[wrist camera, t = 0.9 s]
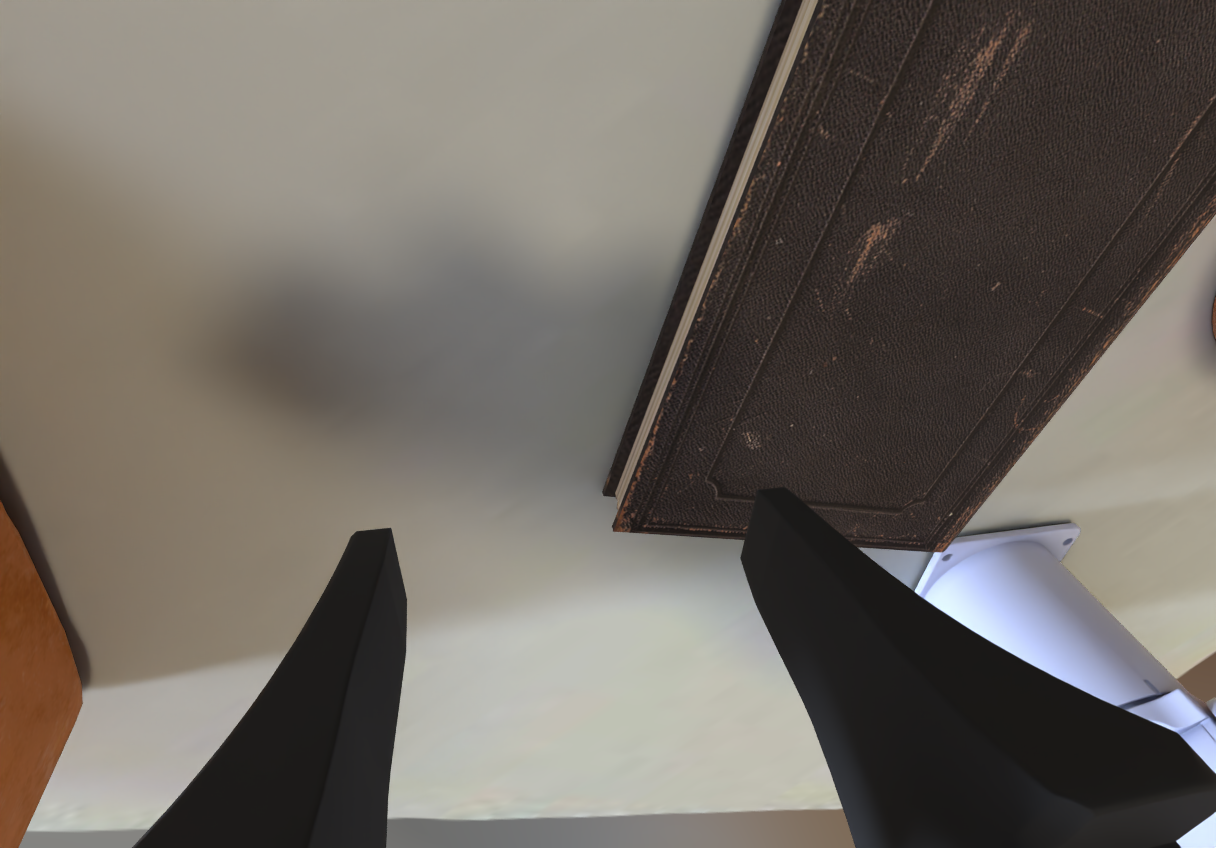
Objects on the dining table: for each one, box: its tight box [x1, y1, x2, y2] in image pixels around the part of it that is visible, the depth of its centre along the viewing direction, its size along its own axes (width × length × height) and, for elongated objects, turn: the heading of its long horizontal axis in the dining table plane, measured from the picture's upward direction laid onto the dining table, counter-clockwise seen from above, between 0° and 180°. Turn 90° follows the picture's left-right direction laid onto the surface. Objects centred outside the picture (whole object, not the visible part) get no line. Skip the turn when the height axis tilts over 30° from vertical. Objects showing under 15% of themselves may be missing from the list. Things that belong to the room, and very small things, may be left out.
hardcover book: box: [602, 0, 1216, 553], centre depth 20 cm, size 16×23×2 cm
